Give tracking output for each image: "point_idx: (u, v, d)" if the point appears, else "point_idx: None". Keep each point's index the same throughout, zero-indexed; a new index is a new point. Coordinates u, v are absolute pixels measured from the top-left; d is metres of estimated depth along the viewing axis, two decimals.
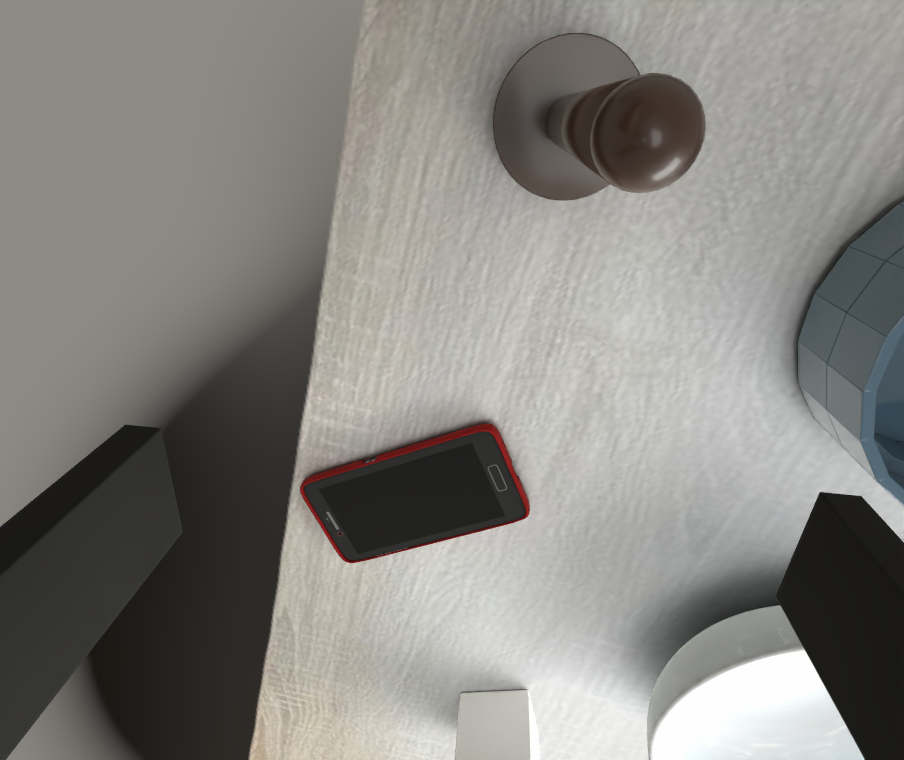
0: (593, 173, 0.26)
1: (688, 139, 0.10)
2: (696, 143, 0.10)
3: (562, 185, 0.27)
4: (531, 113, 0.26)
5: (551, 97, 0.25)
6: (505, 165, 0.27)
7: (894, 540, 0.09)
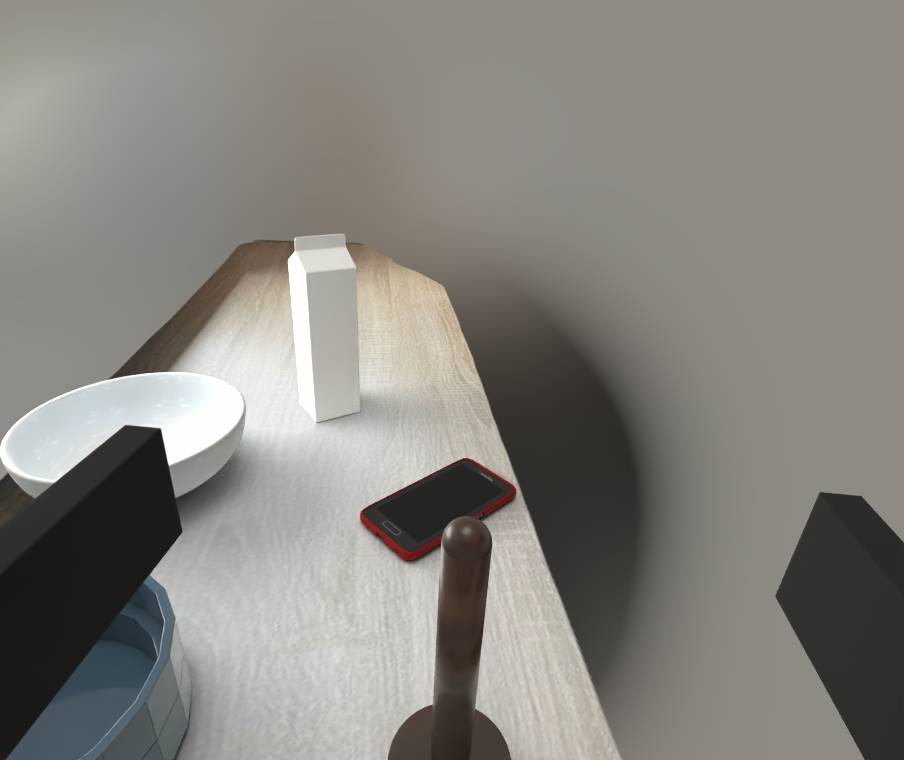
0: (414, 732, 0.33)
1: (455, 528, 0.23)
2: (449, 531, 0.24)
3: None
4: (480, 757, 0.31)
5: None
6: (482, 714, 0.34)
7: (894, 540, 0.09)
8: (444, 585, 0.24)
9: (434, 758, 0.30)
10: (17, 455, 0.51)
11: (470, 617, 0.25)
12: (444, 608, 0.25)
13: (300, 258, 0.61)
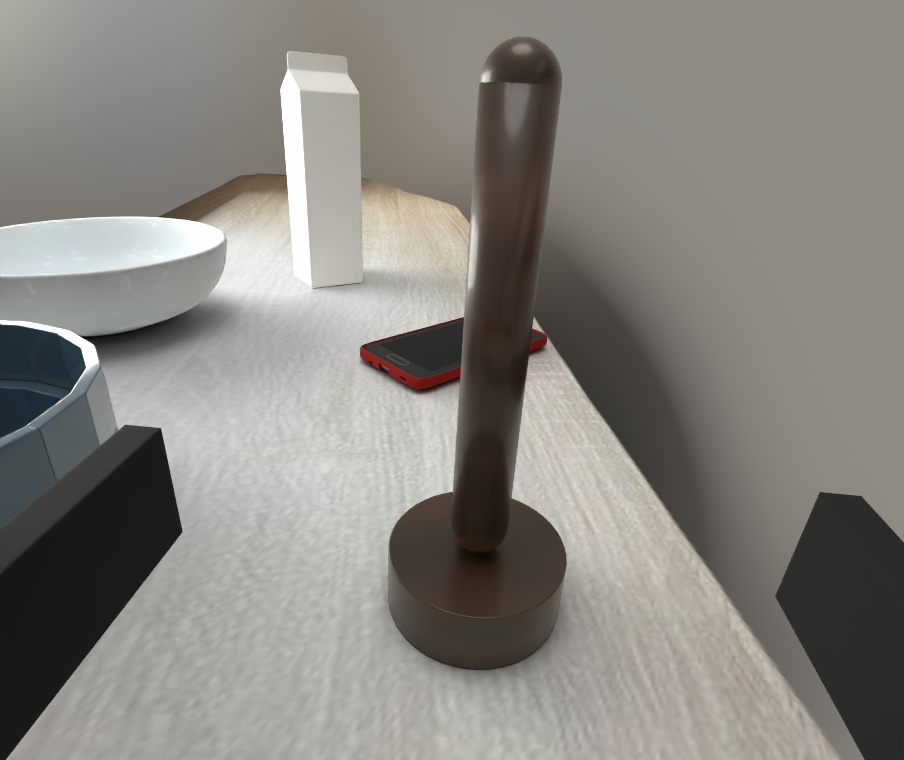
0: (427, 516, 0.23)
1: (503, 43, 0.14)
2: (493, 50, 0.14)
3: None
4: (520, 542, 0.22)
5: (508, 557, 0.21)
6: (519, 502, 0.24)
7: (894, 540, 0.09)
8: (482, 161, 0.15)
9: (456, 526, 0.21)
10: None
11: (523, 221, 0.15)
12: (481, 213, 0.16)
13: (294, 76, 0.52)
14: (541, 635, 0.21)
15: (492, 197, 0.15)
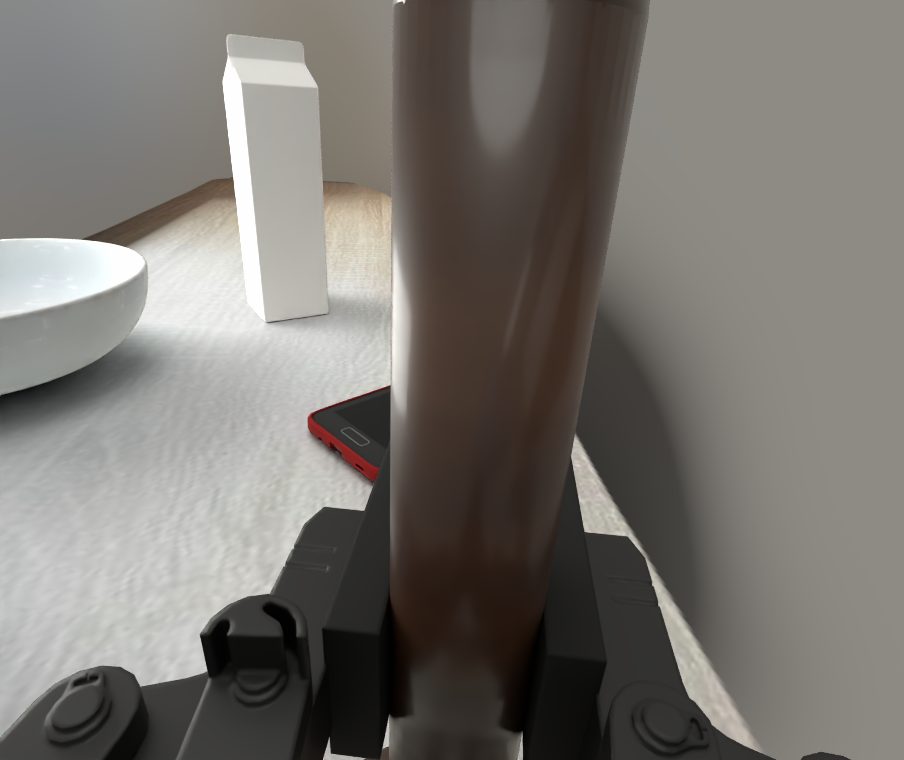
0: None
1: None
2: None
3: None
4: None
5: None
6: None
7: None
8: (405, 245, 0.05)
9: None
10: None
11: (528, 411, 0.05)
12: (410, 380, 0.06)
13: (235, 65, 0.42)
14: None
15: (438, 347, 0.05)
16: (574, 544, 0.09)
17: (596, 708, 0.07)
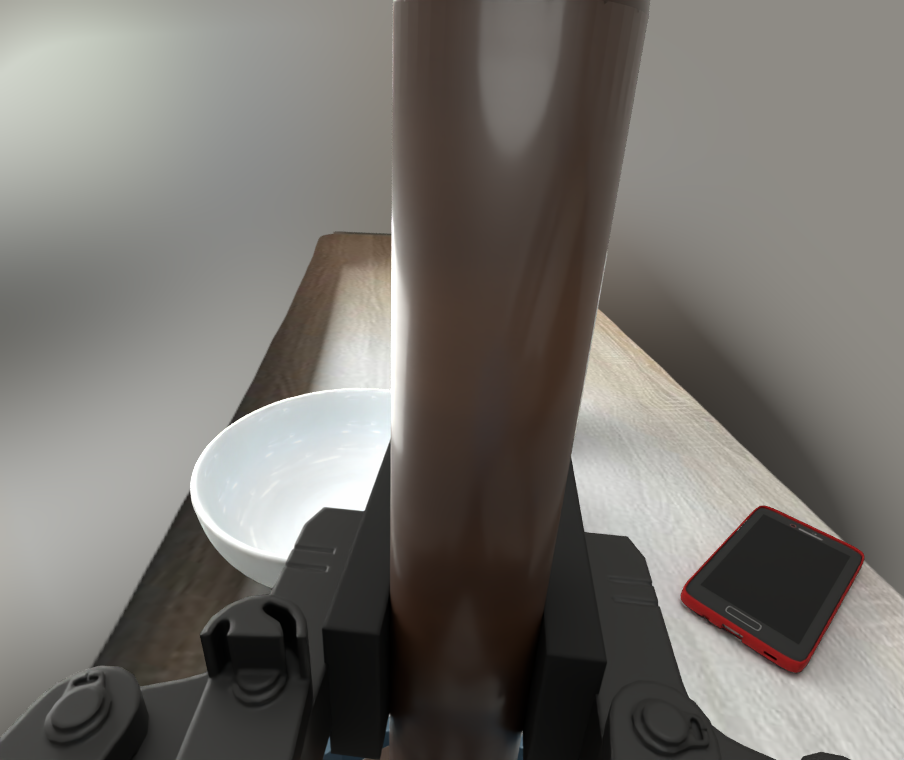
0: None
1: None
2: None
3: None
4: None
5: None
6: None
7: None
8: (406, 243, 0.05)
9: None
10: (210, 510, 0.36)
11: (529, 409, 0.05)
12: (410, 379, 0.06)
13: None
14: None
15: (439, 345, 0.05)
16: (574, 544, 0.09)
17: (596, 708, 0.07)
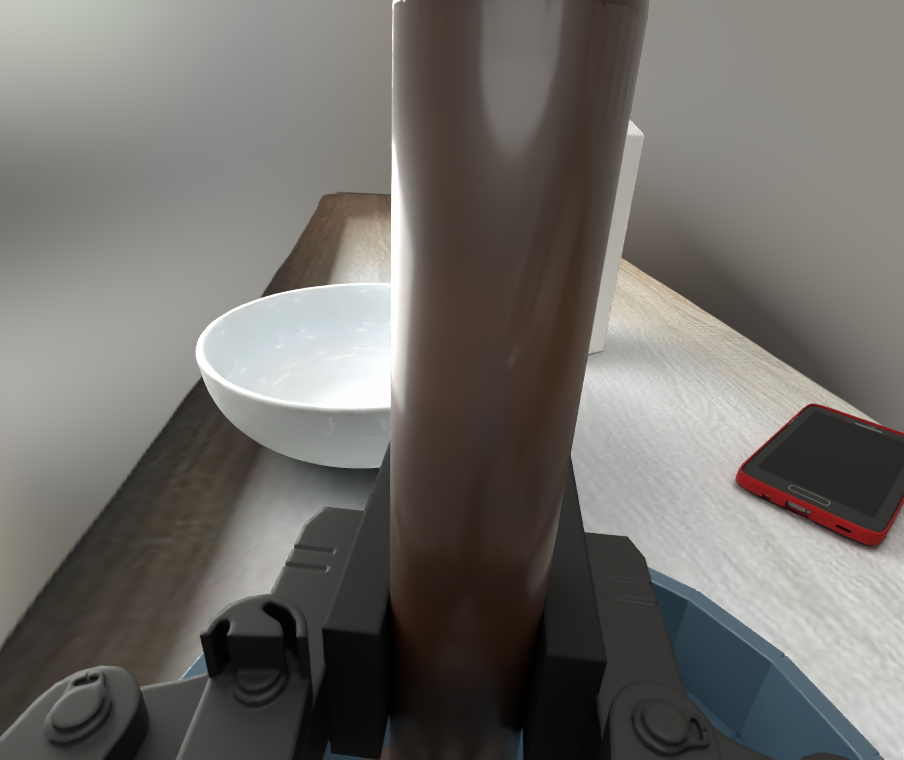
0: None
1: None
2: None
3: None
4: None
5: None
6: None
7: None
8: (406, 243, 0.05)
9: None
10: None
11: (528, 409, 0.05)
12: (409, 380, 0.06)
13: None
14: None
15: (438, 345, 0.05)
16: (574, 544, 0.09)
17: (596, 708, 0.07)
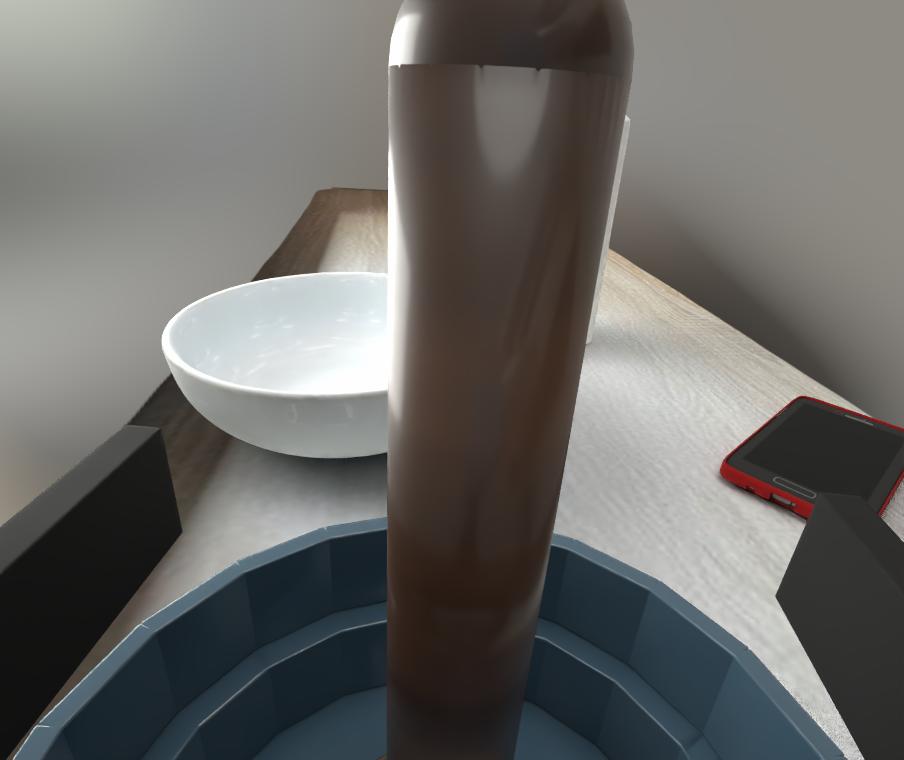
0: None
1: None
2: None
3: None
4: None
5: None
6: None
7: (894, 540, 0.09)
8: (402, 289, 0.05)
9: None
10: None
11: (519, 447, 0.06)
12: (405, 415, 0.06)
13: None
14: None
15: (433, 386, 0.06)
16: None
17: None
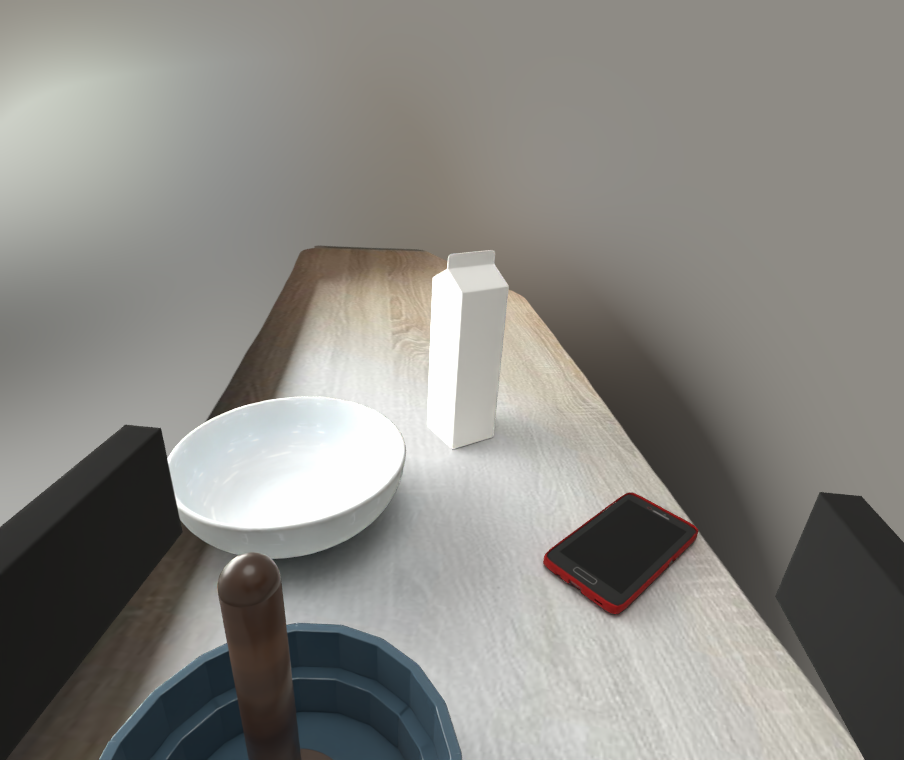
0: None
1: (229, 567, 0.20)
2: (224, 571, 0.20)
3: None
4: None
5: None
6: None
7: (894, 540, 0.09)
8: (225, 632, 0.21)
9: None
10: (177, 492, 0.47)
11: (259, 670, 0.21)
12: (231, 659, 0.21)
13: (454, 277, 0.57)
14: None
15: (234, 655, 0.21)
16: None
17: None
